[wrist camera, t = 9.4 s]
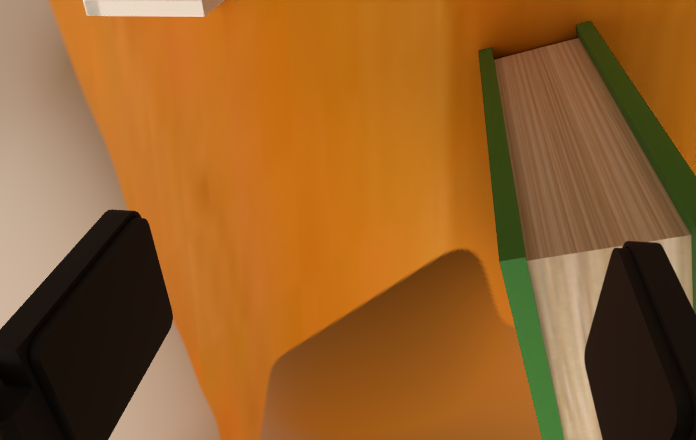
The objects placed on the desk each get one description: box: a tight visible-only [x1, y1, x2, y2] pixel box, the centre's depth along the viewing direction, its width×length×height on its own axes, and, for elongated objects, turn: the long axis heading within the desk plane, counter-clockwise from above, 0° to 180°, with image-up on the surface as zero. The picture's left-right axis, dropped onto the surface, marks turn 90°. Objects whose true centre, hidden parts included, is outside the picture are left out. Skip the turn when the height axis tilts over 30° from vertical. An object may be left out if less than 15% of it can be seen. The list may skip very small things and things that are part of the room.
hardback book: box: [478, 21, 696, 440], centre depth 34 cm, size 18×7×24 cm, turn 19°
